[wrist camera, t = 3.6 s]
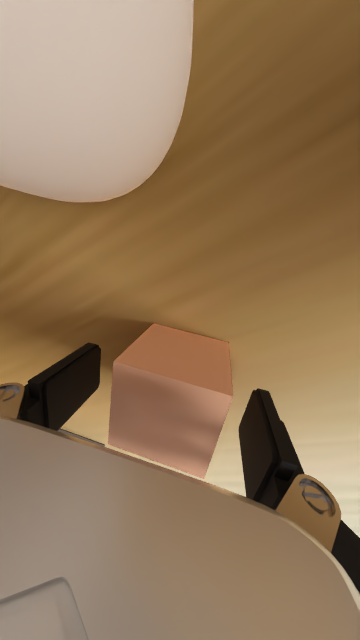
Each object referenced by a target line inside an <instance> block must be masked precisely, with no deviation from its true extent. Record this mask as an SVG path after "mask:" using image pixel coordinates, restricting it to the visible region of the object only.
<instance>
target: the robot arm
mask: <svg viewBox="0 0 360 640" xmlns="http://www.w3.org/2000/svg"><path fill="white" fill-rule="evenodd" d="M100 359H101V349H100V348H99V346H98V345H96V344H92V343H87V344H85V345H84V346H82V347H81V348H79V349H78V350H76V351H74V352H73V353H71V354H70V355H68V356H66V357H65V358H63V359H62V360H60V361H59V362H57V363H55V364H54V365H52V366H51V367H49V368H48V369H46V370H44V371H43V372H41V373H40V374H38V375H36V376H35V377H33V378H32V379H30V380H29V381H28V384H27V385H25V386H23V385H22V384H20V383H5V384H1V385H0V640H360V538H359V537H358V536H357V535H356V534H355V533H354V532H353V531H352V530H351V529H350V528H349V527H348V526H347V525H346V524H345V523H344V522H343V521H342V520H341V511H340V508H339V505H338V503H337V501H336V499H335V497H334V496H333V495H332V494H331V492H330V491H329V490H328V489H327V488H326V487H325V486H324V485H323V484H322V483H321V482H319V481H318V480H317V479H315V478H313V477H311V476H309V475H305V474H304V472H303V469H302V467H301V464H300V462H299V459H298V457H297V454H296V452H295V449H294V447H293V444H292V442H291V439H290V437H289V434H288V432H287V429H286V427H285V425H284V423H283V422H282V421H281V420H280V418H279V416H278V413H277V411H276V408H275V406H274V403H273V400H272V398H271V395H270V393H269V391H266V390H262V389H257V390H253V392H252V394H251V397H250V399H249V402H248V404H247V407H246V410H245V412H244V415H243V417H242V420H241V423H240V425H239V439H240V447H241V456H242V464H243V472H244V481H245V489H246V497H244V496H241V495H239V494H236V493H233V492H231V491H228V490H225V489H223V488H220V487H217V486H215V485H212V484H209V483H206V482H203V481H201V480H198V479H195V478H192V477H189V476H186V475H183V474H181V473H178V472H175V471H172V470H169V469H166V468H164V467H161V466H158V465H155V464H152V463H149V462H146V461H143V460H141V459H138V458H135V457H132V456H129V455H126V454H123V453H120V452H117V451H114V450H112V449H109V448H106V447H103V446H100V445H97V444H94V443H91V442H88V441H85V440H82V439H79V438H76V437H73V436H70V435H67V434H64V433H61V432H58V430H59V429H60V428H61V427H62V426H63V425H64V424H65V422H66V421H67V420H68V419H69V418H70V417H71V416H72V415H73V414H74V413H75V412H76V411H77V410H78V409H79V408H80V407H81V405H82V404H83V403H84V402H85V401H86V400H87V399H88V398H89V397H90V396H91V395H92V394H93V393H94V392H95V391H96V390H97V388H98V386H99V383H100Z"/></svg>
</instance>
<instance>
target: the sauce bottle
mask: <svg viewBox="0 0 360 640" xmlns="http://www.w3.org/2000/svg"><path fill="white" fill-rule="evenodd" d="M193 5H194V0H0V186H4V187H7V188H10V189H14V190H17V191H21V192H25V193H28V194H32V195H36V196H39V197H44V198H48V199H53V200H58V201H64V202H76V203H79V202H102V201H107V200H111V199H114V198H117V197H120V196H123V195H125V194H127V193H129V192H131V191H132V190H134V189H135V188H137V187H139V186H140V185H141V184H143V183H144V182H145V181H146V180H147V179H148V178H149V177H150V176H151V175H152V174H153V173H154V172H155V170H156V169H157V168H158V166H159V165H160V164H161V163H162V161H163V159H164V157H165V156H166V154H167V152H168V150H169V148H170V147H171V145H172V142H173V140H174V137H175V134H176V131H177V129H178V126H179V123H180V120H181V117H182V113H183V108H184V103H185V98H186V93H187V88H188V82H189V76H190V68H191V59H192V40H193Z"/></svg>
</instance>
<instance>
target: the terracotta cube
mask: <svg viewBox="0 0 360 640" xmlns="http://www.w3.org/2000/svg"><path fill="white" fill-rule="evenodd" d="M232 399H233V388H232V376H231V364H230V352H229V342H225V341H221V340H217V339H213V338H209V337H206V336H202V335H198V334H194V333H190V332H186V331H182V330H178V329H174V328H170V327H166V326H162V325H158V324H154V323H153V324H152V325H151V326H150V327H149V328H148V329H147V330H146V331H145V332H144V333H143V334H142V335H141V336H140V337H139V338H138V339H136V340H135V341H134V342H133V343H132V344H131V345H130V346H129V347H128V348H127V349H126V350H125V351H124V352H123V353H122V354H121V355H120V356H119V357H117V358H116V359H115V360H114V361H113V376H112V391H111V406H110V421H109V437H108V444H109V445H112V446H114V447H117V448H120V449H123V450H125V451H128V452H131V453H134V454H137V455H139V456H142V457H145V458H148V459H150V460H153V461H156V462H159V463H161V464H164V465H167V466H170V467H172V468H175V469H178V470H181V471H184V472H186V473H189V474H192V475H195V476H197V477H200V478H203V479H204V477H205V475H206V472H207V469H208V466H209V463H210V461H211V458H212V455H213V452H214V449H215V446H216V444H217V441H218V438H219V435H220V432H221V430H222V427H223V424H224V421H225V418H226V415H227V413H228V410H229V407H230V404H231V401H232Z"/></svg>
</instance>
